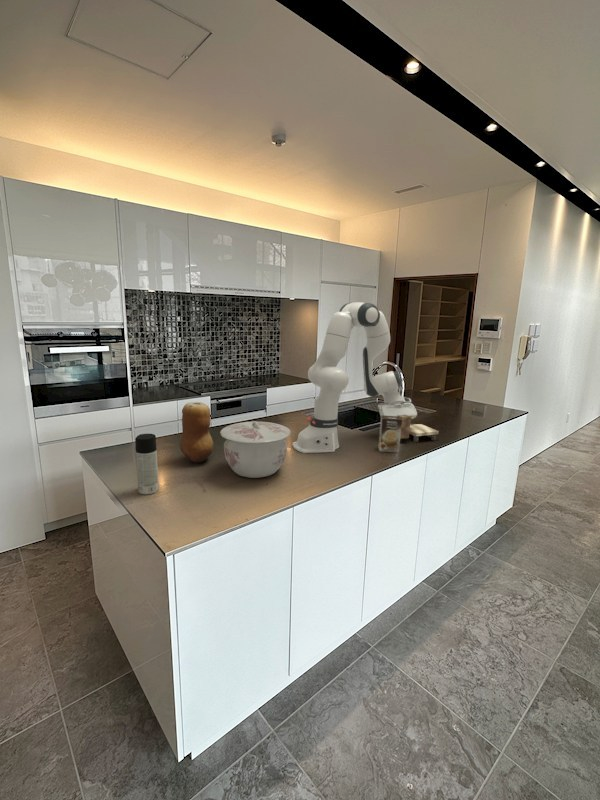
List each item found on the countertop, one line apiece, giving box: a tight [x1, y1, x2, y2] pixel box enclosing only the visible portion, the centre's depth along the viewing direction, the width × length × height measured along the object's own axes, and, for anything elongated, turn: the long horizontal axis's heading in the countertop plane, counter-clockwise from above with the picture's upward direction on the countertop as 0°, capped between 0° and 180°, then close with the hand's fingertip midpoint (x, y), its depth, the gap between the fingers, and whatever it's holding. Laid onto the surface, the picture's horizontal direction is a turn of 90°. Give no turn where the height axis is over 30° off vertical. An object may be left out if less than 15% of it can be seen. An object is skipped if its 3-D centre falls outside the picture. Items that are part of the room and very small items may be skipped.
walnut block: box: [397, 415, 412, 440], centre depth 194 cm, size 5×5×11 cm
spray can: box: [134, 433, 160, 495], centre depth 132 cm, size 7×7×20 cm
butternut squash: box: [179, 401, 214, 464], centre depth 160 cm, size 14×13×25 cm
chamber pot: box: [219, 420, 292, 479], centre depth 152 cm, size 28×28×21 cm
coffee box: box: [377, 415, 402, 453], centre depth 181 cm, size 9×6×16 cm
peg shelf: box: [409, 423, 439, 443], centre depth 202 cm, size 14×14×5 cm
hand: (403, 425), depth 193 cm, fingers closed on walnut block, 5 cm apart
